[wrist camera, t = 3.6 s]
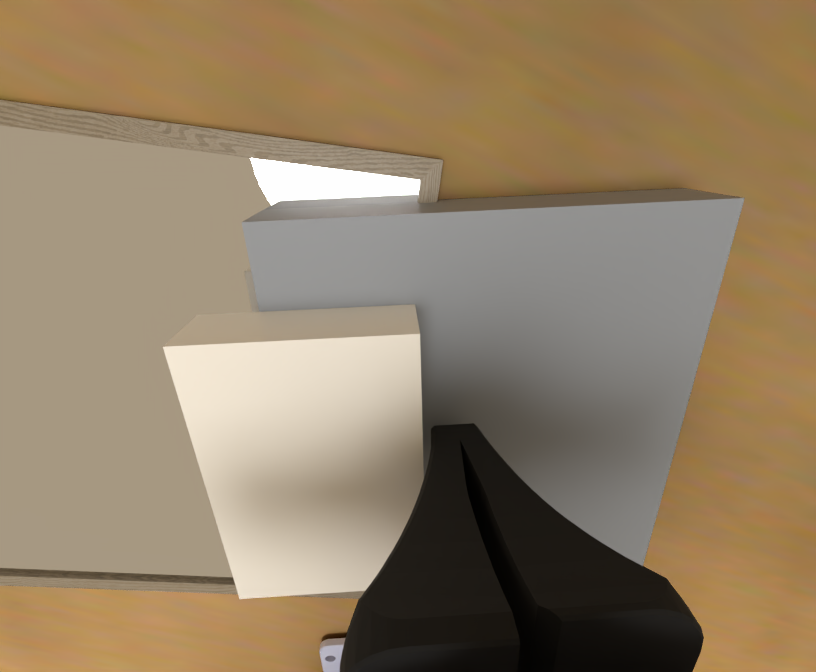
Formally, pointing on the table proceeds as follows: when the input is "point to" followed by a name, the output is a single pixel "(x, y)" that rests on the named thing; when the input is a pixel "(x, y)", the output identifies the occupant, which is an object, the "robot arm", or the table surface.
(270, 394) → the tile
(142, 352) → the picture frame
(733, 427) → the table surface
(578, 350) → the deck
